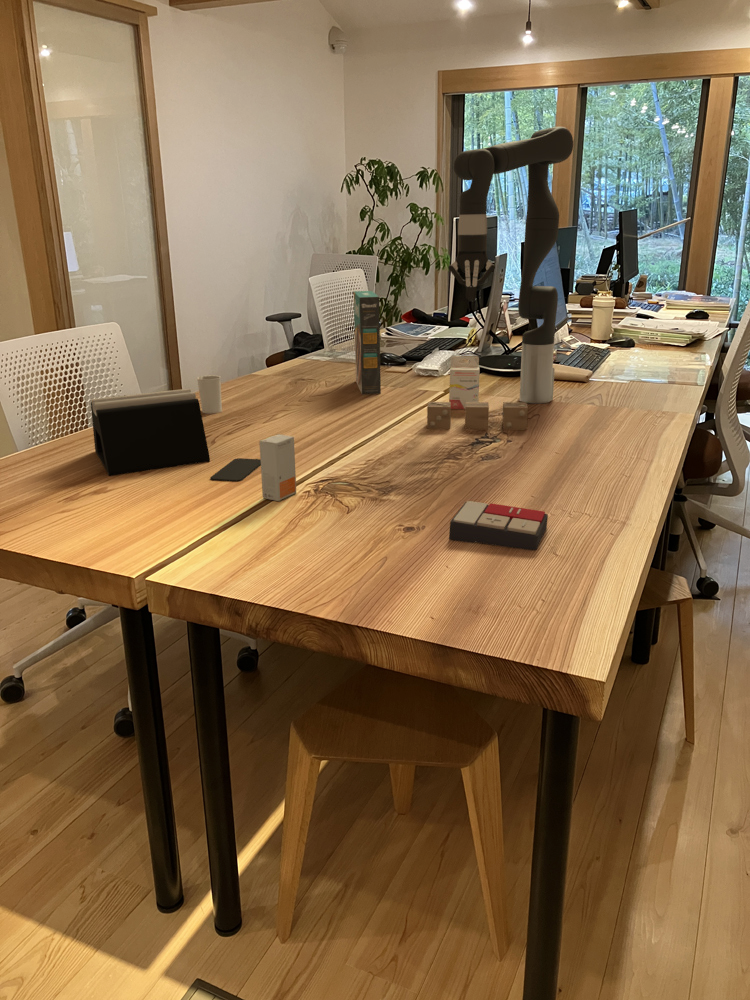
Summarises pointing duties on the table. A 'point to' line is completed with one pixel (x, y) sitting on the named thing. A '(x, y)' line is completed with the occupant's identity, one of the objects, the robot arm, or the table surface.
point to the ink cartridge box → (464, 381)
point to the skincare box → (278, 467)
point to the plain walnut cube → (476, 415)
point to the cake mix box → (367, 342)
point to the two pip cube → (515, 416)
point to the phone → (237, 470)
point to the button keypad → (498, 525)
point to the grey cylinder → (210, 393)
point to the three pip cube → (438, 415)
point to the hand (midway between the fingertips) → (471, 300)
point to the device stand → (148, 431)
